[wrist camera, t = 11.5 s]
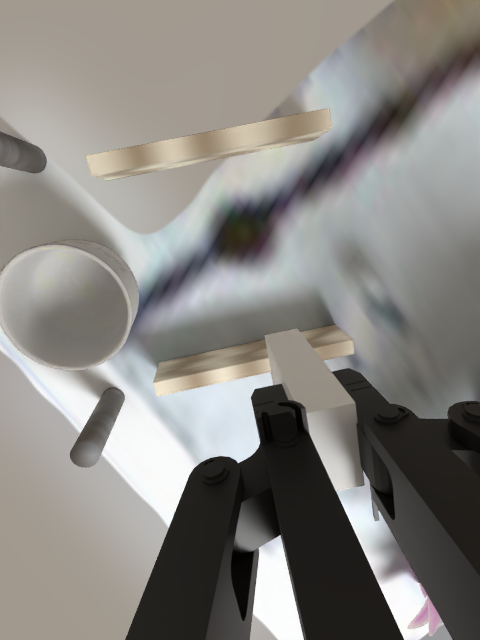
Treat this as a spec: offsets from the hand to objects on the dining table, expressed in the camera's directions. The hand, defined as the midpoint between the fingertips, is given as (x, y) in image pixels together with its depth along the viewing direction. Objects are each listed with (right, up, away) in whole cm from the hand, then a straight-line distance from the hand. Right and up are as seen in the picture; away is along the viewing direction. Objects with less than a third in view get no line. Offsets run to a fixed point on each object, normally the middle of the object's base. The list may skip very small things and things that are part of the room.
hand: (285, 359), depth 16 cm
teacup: (-19, +5, +20) cm, 28 cm away
